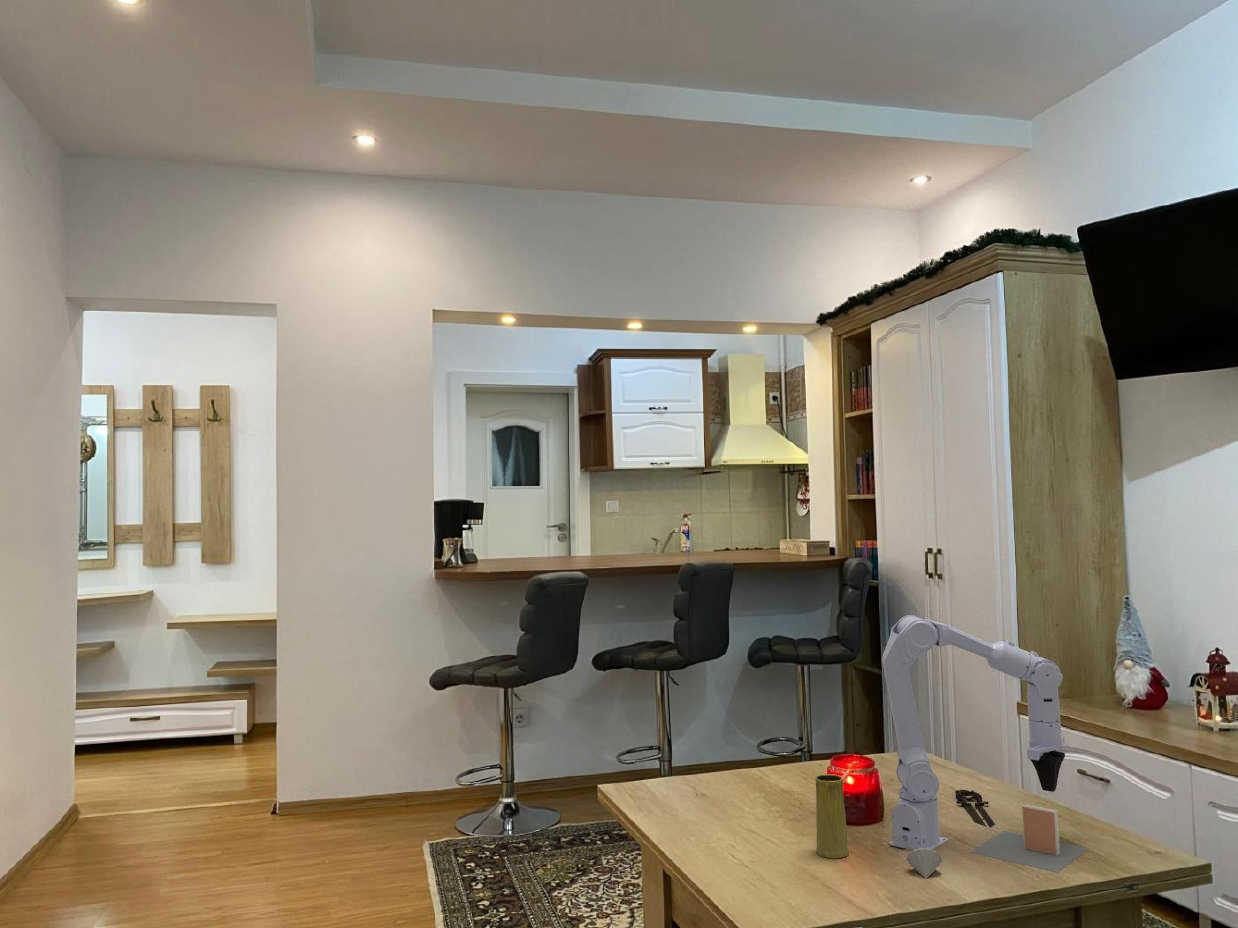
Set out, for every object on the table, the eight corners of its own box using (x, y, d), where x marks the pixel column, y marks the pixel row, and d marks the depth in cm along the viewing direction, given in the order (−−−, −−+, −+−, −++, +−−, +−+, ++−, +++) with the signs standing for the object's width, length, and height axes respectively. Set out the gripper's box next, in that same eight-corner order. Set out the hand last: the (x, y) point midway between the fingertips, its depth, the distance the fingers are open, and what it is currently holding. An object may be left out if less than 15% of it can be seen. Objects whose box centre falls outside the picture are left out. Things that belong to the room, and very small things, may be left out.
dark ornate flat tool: (998, 833, 186) (998, 825, 186) (964, 831, 187) (963, 824, 188) (983, 795, 211) (983, 789, 211) (952, 794, 213) (952, 788, 213)
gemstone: (912, 866, 161) (909, 840, 165) (905, 885, 164) (902, 859, 168) (948, 872, 160) (944, 846, 164) (940, 890, 164) (937, 865, 168)
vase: (825, 860, 172) (822, 783, 173) (810, 849, 178) (807, 775, 179) (854, 856, 174) (851, 779, 175) (838, 845, 180) (835, 771, 181)
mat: (1058, 874, 162) (1058, 872, 162) (969, 854, 173) (969, 851, 173) (1088, 850, 173) (1088, 848, 173) (1004, 832, 185) (1004, 830, 185)
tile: (1057, 856, 170) (1054, 811, 170) (1024, 848, 174) (1021, 805, 175) (1060, 853, 171) (1057, 809, 172) (1027, 846, 175) (1024, 803, 176)
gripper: (1052, 728, 172) (1057, 802, 171) (1078, 715, 182) (1083, 785, 181) (1014, 724, 177) (1018, 795, 176) (1041, 711, 187) (1046, 779, 186)
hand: (1049, 790), depth 179 cm, fingers closed
